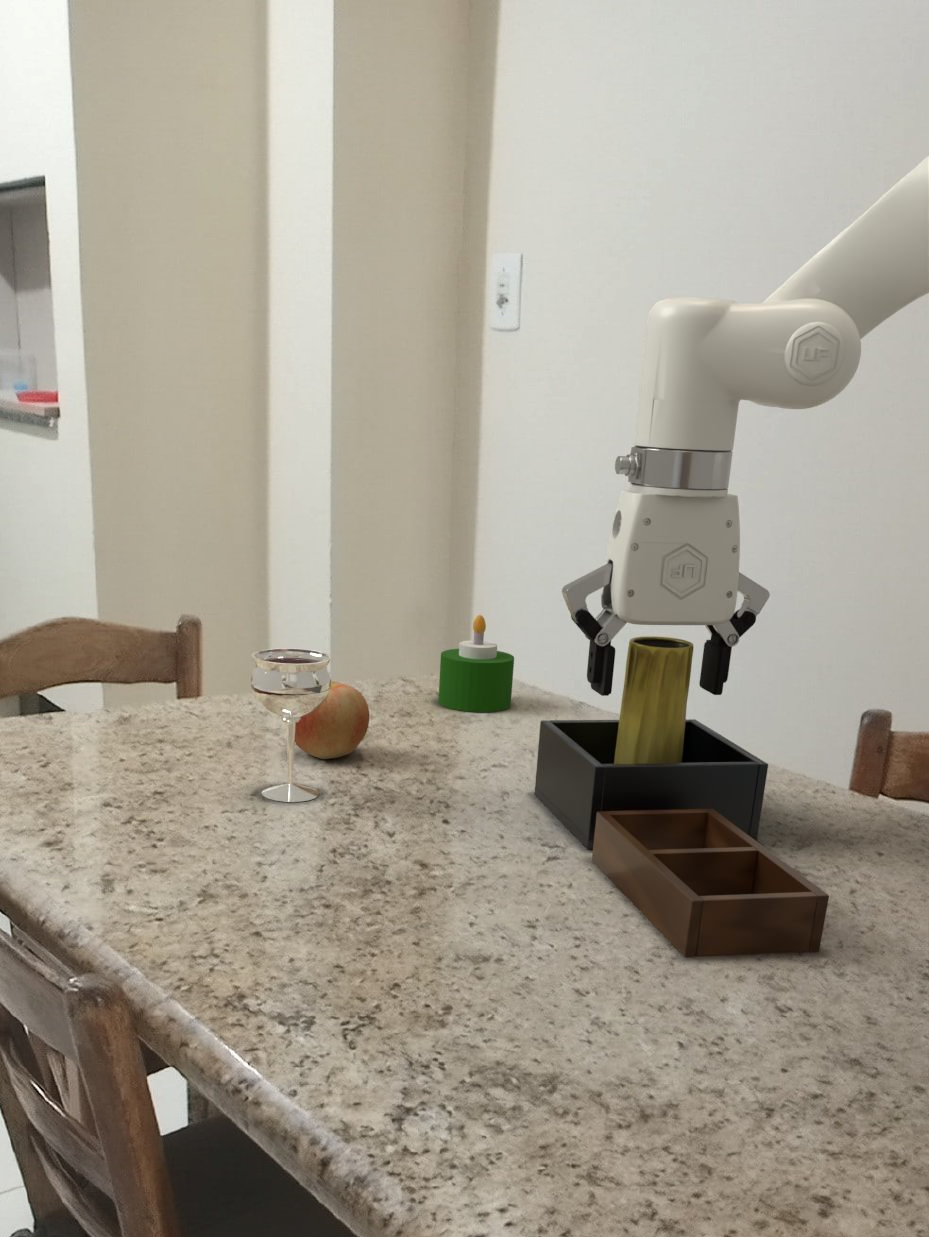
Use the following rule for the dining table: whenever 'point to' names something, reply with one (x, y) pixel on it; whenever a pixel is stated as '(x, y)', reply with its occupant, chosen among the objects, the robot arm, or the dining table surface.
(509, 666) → the candle
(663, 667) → the vase
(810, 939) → the divided wooden tray
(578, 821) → the black open box
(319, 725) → the apple
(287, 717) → the wineglass
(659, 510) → the robot arm
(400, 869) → the dining table surface
